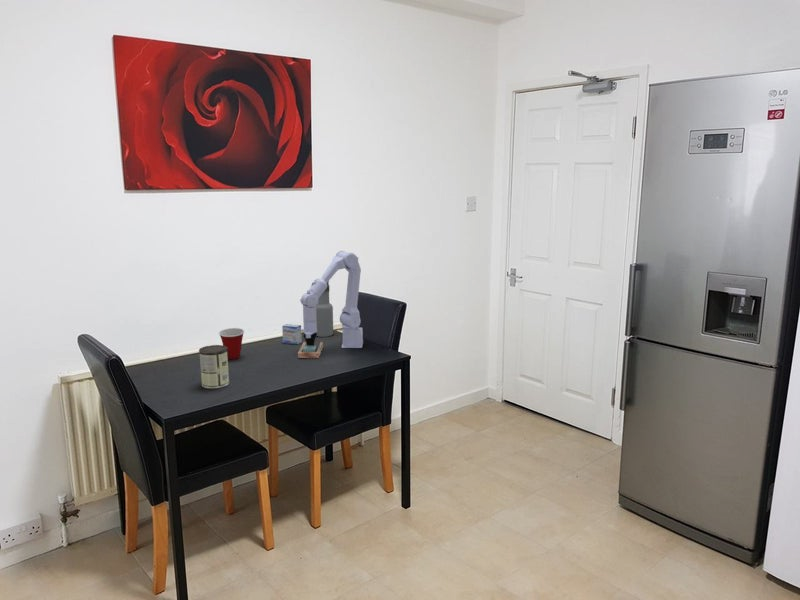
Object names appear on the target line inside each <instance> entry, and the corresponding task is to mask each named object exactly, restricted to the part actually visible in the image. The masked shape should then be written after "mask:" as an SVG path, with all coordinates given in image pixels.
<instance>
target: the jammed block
mask: <svg viewBox="0 0 800 600" xmlns="http://www.w3.org/2000/svg"><path fill="white" fill-rule="evenodd" d="M316 351H317V345H314V346H307V345H306V346H304V348H303V352H316Z"/></svg>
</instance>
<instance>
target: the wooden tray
mask: <svg viewBox="0 0 800 600" xmlns="http://www.w3.org/2000/svg"><path fill="white" fill-rule="evenodd" d="M304 346H307V343H306V341H302V344H301V346H300V348H299V350H298V352H297V359H298V358H308V360H309V358H311V359H312V358H313V359H314V358H320V357H321V354H322V352H321V351H323V348H324V341H320V343H319V344H318V347H317V348H316V352H303V348H304ZM319 356H320V357H319ZM313 359H312V360H313ZM314 360H315V359H314Z"/></svg>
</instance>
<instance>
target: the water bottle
mask: <svg viewBox="0 0 800 600" xmlns="http://www.w3.org/2000/svg"><path fill="white" fill-rule="evenodd" d="M317 279H318V278H316V279H315V280H313V282H314V281H316V280H317ZM313 282H312V283H311V286H312V285H313V284H314V283H313ZM329 283H330V280H329V281H328V282H327V288H326V289H325V291H324V292H323V293H322V295H321V296H320V297H319V301H318V304H317V305H316V323H317V332H315V333H317V336H318V337H319V338H327V337H331V336H333V334H334V307H333V304H332V303H330V285H329ZM311 286H310V287H311ZM317 336H316V337H317Z"/></svg>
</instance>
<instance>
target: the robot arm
mask: <svg viewBox="0 0 800 600" xmlns="http://www.w3.org/2000/svg"><path fill="white" fill-rule="evenodd" d="M343 269H345V270H346V271H347V272H348V273H347V274H348V275H347V284H346V286H347V287H346V294H345V295H346V296H345V305H344V307H342V309H341V313H340V314H339V322H340V324H341V327H342V344H341V347H340V348H341V349H361V348H363V344H364V339H363V334H364V333H363V327H360V325H361V321H362V320H361V317H360V311H359V309H358V301H359V293H360V280H361V272H362V270H361V269H362V268H361V265H360V263H359V257H358V256H357V255H356V254H355V253H354V252H348V251H344V250H339V251H338V252H337V253H336V254H335V255H334V256H333V257H332V261H331V262H330V264H329V266H328V267H327V268H326V270H325V271H324V273H323V274H322V276H321V277H320V278H316V279H317V280H316V279H315V280H316V281H315V280H313V281H314V282H312V283H314V284H313V285H312V284H311V285H312V286H310V287H309V289H307V291H306V292H305V293H304V294H302V295H301V298H300V300H299V301H300V303H301V305H302V316H303V328H301V333H303V339H304V341H305V342H306V346H315V341H316V338H317V333H315V332H317V323H316V305H317V304H318V301H319V297H320V296H321V295H322V293H323V292H324V291H325V289H326V288H327V282H328V281H329V282H330V280H331V279H332V278H333V277H334V275H335V274H336V273H337V272H338V271H339V270H343Z"/></svg>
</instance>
